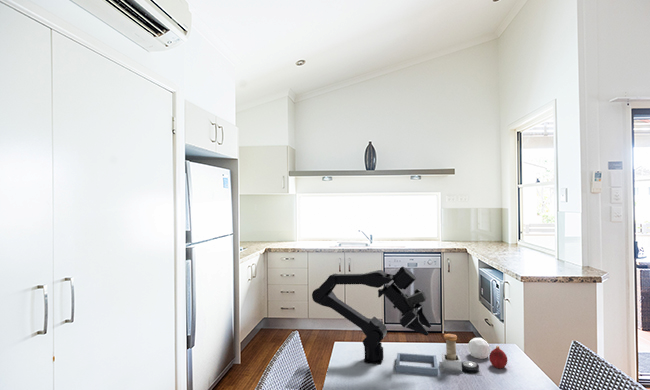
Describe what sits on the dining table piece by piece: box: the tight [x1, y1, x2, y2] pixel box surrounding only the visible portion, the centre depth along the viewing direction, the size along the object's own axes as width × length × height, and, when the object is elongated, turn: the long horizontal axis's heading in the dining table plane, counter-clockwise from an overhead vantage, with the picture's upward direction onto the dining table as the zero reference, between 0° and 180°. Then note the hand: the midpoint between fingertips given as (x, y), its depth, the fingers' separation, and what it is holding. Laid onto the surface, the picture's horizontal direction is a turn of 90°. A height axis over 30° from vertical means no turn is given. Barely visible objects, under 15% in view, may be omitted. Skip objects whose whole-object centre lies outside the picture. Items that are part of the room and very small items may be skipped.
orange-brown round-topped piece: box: [443, 333, 458, 360], centre depth 129 cm, size 4×4×11 cm
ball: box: [467, 337, 491, 360], centre depth 139 cm, size 8×8×8 cm
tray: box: [395, 352, 439, 376], centre depth 130 cm, size 14×12×3 cm
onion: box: [488, 345, 508, 369], centre depth 129 cm, size 6×6×8 cm
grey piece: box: [438, 353, 482, 376], centre depth 128 cm, size 13×9×4 cm
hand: (429, 330), depth 132 cm, fingers open, 9 cm apart
